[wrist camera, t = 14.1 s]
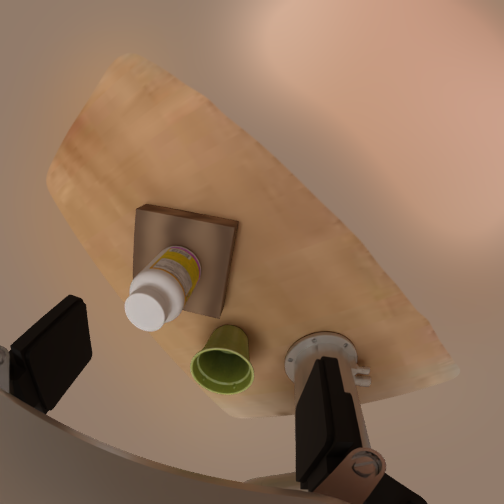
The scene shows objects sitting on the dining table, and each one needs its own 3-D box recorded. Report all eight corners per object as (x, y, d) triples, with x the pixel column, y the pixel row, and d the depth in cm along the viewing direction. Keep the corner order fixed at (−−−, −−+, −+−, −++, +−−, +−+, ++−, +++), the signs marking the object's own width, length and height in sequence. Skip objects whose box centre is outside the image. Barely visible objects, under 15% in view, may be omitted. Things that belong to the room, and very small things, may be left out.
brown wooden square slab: (238, 221, 42) (234, 227, 39) (223, 307, 47) (219, 318, 44) (146, 204, 42) (136, 208, 39) (141, 287, 47) (132, 297, 44)
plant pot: (264, 323, 47) (260, 357, 39) (251, 365, 51) (246, 400, 42) (207, 309, 47) (193, 340, 39) (200, 353, 51) (187, 386, 43)
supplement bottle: (170, 293, 43) (135, 344, 31) (150, 253, 41) (105, 293, 29) (210, 280, 42) (184, 332, 30) (190, 237, 40) (154, 276, 28)
